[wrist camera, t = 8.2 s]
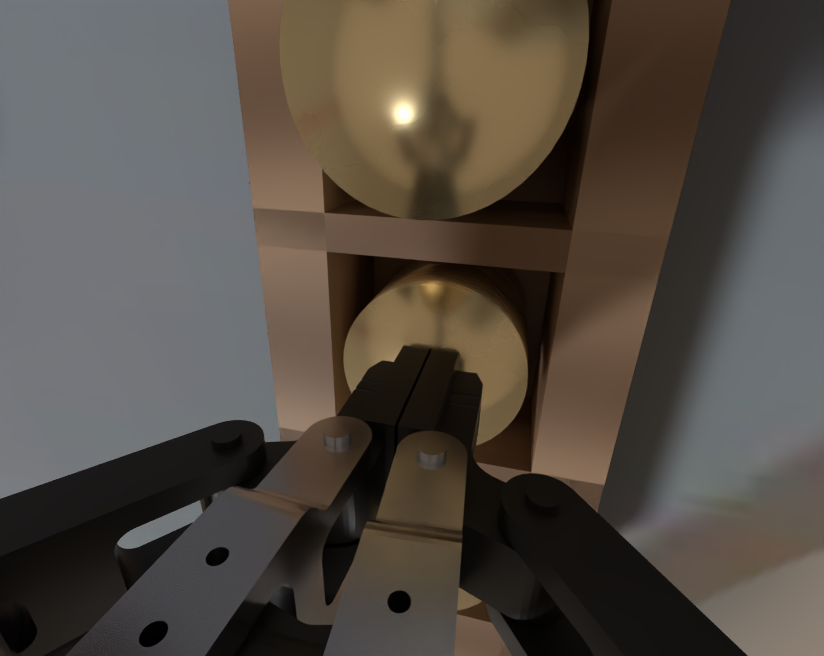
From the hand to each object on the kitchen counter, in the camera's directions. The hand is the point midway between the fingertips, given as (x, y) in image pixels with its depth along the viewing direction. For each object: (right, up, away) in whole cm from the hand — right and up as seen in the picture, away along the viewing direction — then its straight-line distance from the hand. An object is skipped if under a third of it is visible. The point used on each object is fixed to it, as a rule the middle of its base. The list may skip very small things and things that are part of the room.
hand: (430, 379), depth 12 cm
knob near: (+1, +7, -1) cm, 8 cm away
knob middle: (+1, +2, +4) cm, 4 cm away
